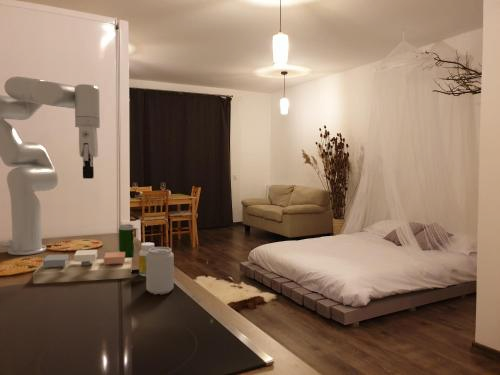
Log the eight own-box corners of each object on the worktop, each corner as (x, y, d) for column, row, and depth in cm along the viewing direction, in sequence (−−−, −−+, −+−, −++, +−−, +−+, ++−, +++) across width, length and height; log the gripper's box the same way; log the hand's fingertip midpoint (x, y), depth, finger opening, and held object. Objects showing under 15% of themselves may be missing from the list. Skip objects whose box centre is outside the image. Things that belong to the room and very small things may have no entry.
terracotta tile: (104, 269, 122) (104, 257, 122) (105, 263, 128) (105, 252, 127) (124, 268, 124) (124, 256, 123) (125, 262, 129) (125, 251, 129)
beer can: (121, 261, 138) (120, 227, 137) (116, 257, 143) (116, 225, 142) (136, 259, 141) (136, 226, 140) (131, 255, 146) (131, 223, 145)
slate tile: (43, 272, 117) (42, 260, 117) (47, 266, 123) (47, 255, 123) (65, 271, 119) (65, 259, 119) (68, 265, 125) (68, 254, 124)
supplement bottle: (141, 277, 122) (140, 246, 121) (137, 272, 127) (137, 242, 126) (158, 275, 125) (158, 244, 124) (154, 270, 129) (154, 241, 128)
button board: (33, 283, 114) (33, 273, 114) (43, 271, 126) (42, 261, 125) (131, 277, 121) (131, 268, 121) (131, 266, 133) (131, 257, 133)
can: (160, 297, 106) (160, 253, 105) (140, 291, 110) (140, 249, 109) (179, 289, 112) (179, 248, 111) (159, 284, 116) (160, 244, 115)
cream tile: (74, 267, 120) (74, 255, 119) (77, 261, 125) (77, 250, 125) (95, 266, 121) (95, 254, 121) (97, 260, 127) (97, 249, 127)
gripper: (97, 122, 125) (97, 180, 127) (101, 124, 139) (102, 176, 141) (71, 121, 123) (72, 180, 125) (78, 123, 137) (79, 176, 139)
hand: (88, 178), depth 133 cm, fingers closed
